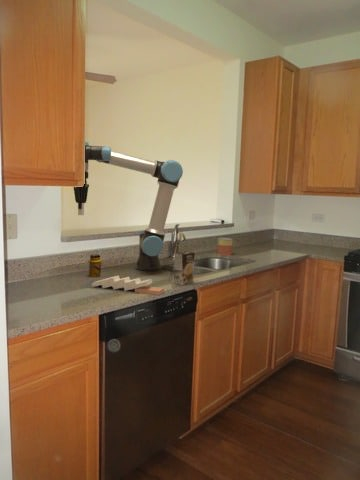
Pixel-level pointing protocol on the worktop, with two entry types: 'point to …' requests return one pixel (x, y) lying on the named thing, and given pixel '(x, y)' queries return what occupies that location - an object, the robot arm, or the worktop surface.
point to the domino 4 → (139, 284)
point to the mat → (109, 288)
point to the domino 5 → (149, 290)
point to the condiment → (95, 266)
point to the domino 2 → (116, 282)
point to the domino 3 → (127, 283)
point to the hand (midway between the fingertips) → (81, 215)
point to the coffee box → (183, 268)
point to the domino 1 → (105, 281)
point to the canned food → (224, 246)
